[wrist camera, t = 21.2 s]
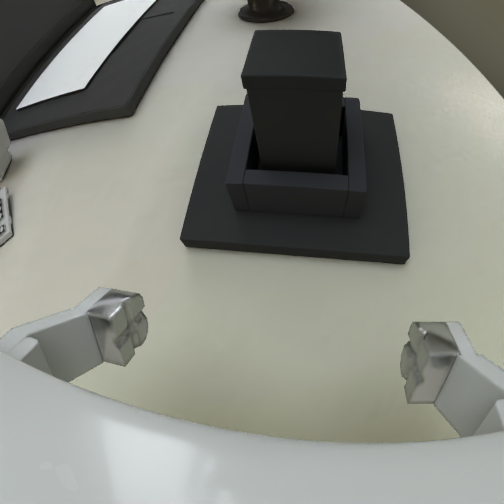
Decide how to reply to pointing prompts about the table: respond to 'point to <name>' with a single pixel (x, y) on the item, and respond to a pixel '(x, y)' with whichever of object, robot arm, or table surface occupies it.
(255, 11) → the vase
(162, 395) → the table surface
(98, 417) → the robot arm
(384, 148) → the base pad
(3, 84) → the laptop
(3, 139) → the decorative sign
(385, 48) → the table surface
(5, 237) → the keyboard
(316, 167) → the black tall box
